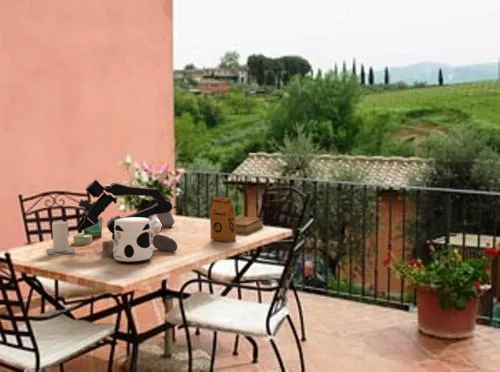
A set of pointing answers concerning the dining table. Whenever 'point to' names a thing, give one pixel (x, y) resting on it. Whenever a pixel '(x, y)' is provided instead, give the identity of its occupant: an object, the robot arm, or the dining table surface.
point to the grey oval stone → (164, 243)
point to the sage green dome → (82, 239)
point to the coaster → (52, 252)
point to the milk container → (132, 240)
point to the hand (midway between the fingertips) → (78, 228)
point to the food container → (95, 229)
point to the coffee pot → (167, 218)
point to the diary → (247, 224)
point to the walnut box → (108, 249)
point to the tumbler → (60, 236)
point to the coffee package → (222, 220)
